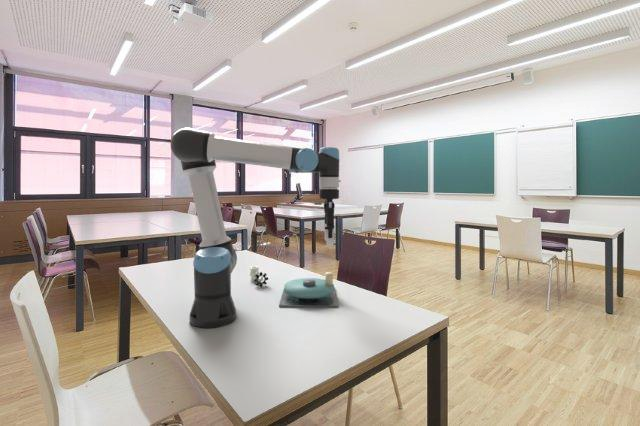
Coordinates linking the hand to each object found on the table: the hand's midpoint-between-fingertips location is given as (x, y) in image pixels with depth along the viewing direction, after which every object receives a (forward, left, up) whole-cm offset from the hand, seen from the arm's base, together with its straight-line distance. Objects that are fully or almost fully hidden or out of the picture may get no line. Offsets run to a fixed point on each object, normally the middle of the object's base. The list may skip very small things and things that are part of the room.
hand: (328, 243), depth 129 cm
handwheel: (+4, +8, -20) cm, 22 cm away
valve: (+23, +32, -23) cm, 45 cm away
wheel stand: (+4, +8, -23) cm, 24 cm away
